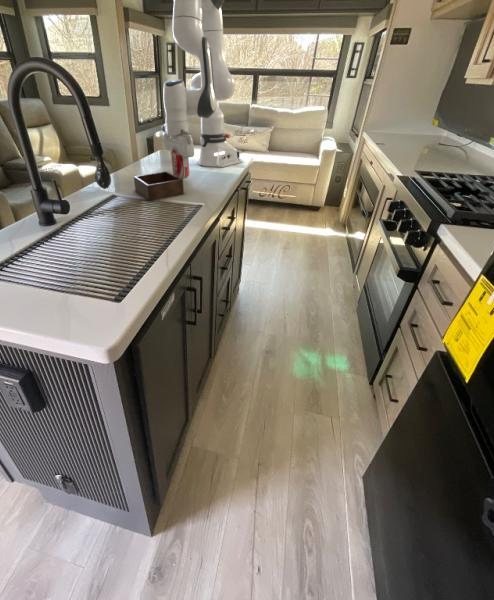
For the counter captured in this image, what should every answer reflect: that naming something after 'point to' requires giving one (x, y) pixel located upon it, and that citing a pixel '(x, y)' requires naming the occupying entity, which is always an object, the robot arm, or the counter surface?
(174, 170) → the soda can
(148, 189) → the box
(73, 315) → the counter surface
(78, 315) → the counter surface
